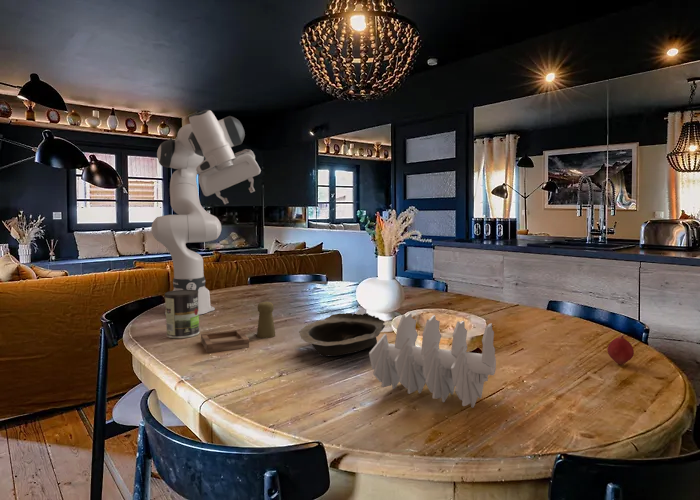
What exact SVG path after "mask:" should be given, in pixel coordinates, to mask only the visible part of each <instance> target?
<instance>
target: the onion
mask: <svg viewBox="0 0 700 500" xmlns="http://www.w3.org/2000/svg"><path fill="white" fill-rule="evenodd" d="M634 352H635V351H634V346H632V344H631V342H630V341H629V340H627V339H625V335H623V334H621V335H619V336H618V337H616V338H614V339H612V340H611V342H610V343H609V344H608V346H607V354H608V356H609V357H610V358H611V359H612V360H613V362H615V363H616V364H617V365H619V364H620V365H619V366H623V365H624V364H627V362H628V361H630V360H632V359H633V358H634V356H635V355H634Z"/></svg>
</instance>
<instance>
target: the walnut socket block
mask: <svg viewBox="0 0 700 500" xmlns="http://www.w3.org/2000/svg"><path fill="white" fill-rule="evenodd" d="M200 343H201V345H202V346H203V349H205V352H206V353H207V354H212V353H219V352H225V351H233V350H242V349H248V348H250V339H249V337H248V336H247V335H246V334H245V333H244V332H243V331H242V330H241V329H233V330H225V331H217V332H210V333H201V334H200Z"/></svg>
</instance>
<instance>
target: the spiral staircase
mask: <svg viewBox="0 0 700 500" xmlns="http://www.w3.org/2000/svg"><path fill="white" fill-rule="evenodd" d="M425 322H426V323H425V325H424V328H423V331H422V334H421V335H422V340H421V346H417V345H416V343H417V339H418V336H419V335H418V332H417V329H416V324H417V319H415V318H413V315H412V312H409V313H407V314H406V315H404V314H403V315H402V316H401V318H400V321H399V322H398V324H397V325H398V326H397V327H396V333H395V334H396V336H395V342H394V343H389V341H388V336H387V333H383V335H382V336H381V338H379V340H377V344H376V345H375V346H374V348H373V349H372V350H371V351H369V352H368V356H369V360H370V366H371V369H372V370H373V373H372V375H373V376H374V378H376V380H378V382H379V383H381V388H386V387H390V386H391V388H392V389H393V390H395V389H396V388H397V386H398V385H399V383H400V384H401V385H402V386H403V388H405V389H407V394H408V395H409V394H412V393H414V392H416V391H417V393H418V394H421V393H422V391H423V388H424V387H425V384H426V387H427V388H428V391H429V392H430V393H432V398H431V399H434V400H435V399H441V403H445V402H446V400H447V398H448V396H449V395H450V396H453V395H454V393H455V394H456V397H458V399H459V401H462V402H461V406H463V407H465V406H469V405H470V408H474V407H475V406H476V403H477V401H478V398H479V399H482V396H483V391H484V384H485V382H488V380H489V376H495V374H496V370H497V359H496V348H495V347H494V336H495V331H494V330H493V323H492V322H491V323H489V324H487V325H485V327H484V330H483V336H482V339H481V342H482V351H481V353H479V352H478V353H477V352H469V351H467V350H468V344H467V335H468V329H467V328H466V327H465V324H466V323H465V322H466V321H465V320H461V321H459V320H457V321H456V324H455V326H454V329H453V333H452V342H451V349H443V348H442V349H441V348H440V342H441V339H442V334H441V332H440V323H441V322H440V321H439V320H438V319H436V315H435V314H433V315H431V317H430V318H429V319H428V318H427V319H426V321H425Z"/></svg>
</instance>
